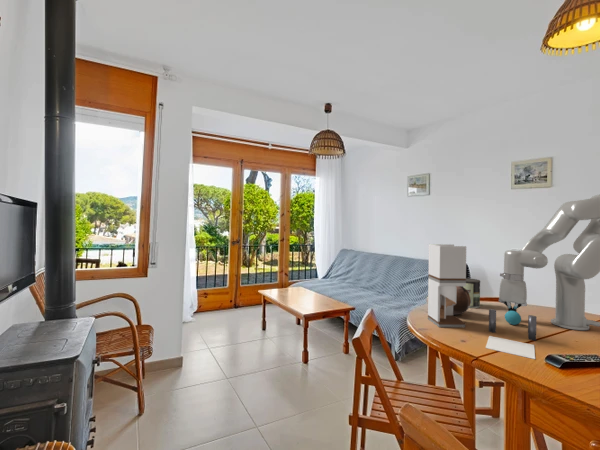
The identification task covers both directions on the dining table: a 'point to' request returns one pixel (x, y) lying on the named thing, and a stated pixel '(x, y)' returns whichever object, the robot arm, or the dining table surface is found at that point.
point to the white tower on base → (445, 282)
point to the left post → (492, 320)
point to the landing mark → (511, 347)
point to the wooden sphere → (461, 301)
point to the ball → (513, 317)
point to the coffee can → (473, 291)
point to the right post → (532, 327)
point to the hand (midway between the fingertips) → (512, 316)
